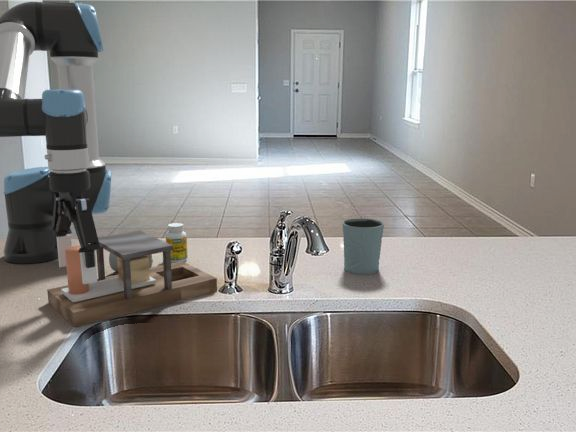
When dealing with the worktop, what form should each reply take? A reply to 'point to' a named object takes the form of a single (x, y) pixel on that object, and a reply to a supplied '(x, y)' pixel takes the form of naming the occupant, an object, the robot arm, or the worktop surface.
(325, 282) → the worktop surface
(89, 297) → the white plank with peg
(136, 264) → the maple block
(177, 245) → the supplement bottle
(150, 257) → the ceramic mug
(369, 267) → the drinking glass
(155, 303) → the tunnel deck
